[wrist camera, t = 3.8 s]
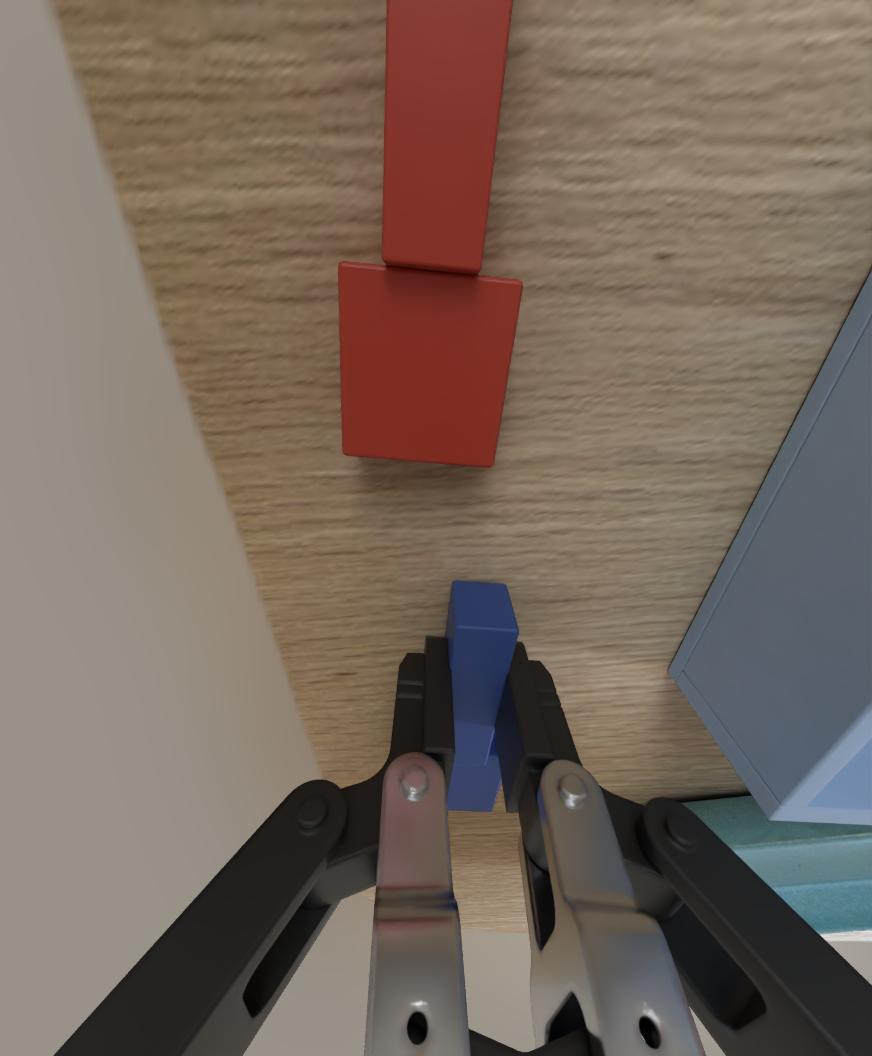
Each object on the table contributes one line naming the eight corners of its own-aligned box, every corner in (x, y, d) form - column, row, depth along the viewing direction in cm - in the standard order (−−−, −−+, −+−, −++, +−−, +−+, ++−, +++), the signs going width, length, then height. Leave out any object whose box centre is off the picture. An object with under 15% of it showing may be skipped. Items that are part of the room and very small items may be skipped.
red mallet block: (350, -212, 5) (308, -486, 4) (578, -176, 5) (648, -421, 4) (355, 437, 9) (336, 462, 8) (485, 448, 10) (496, 476, 8)
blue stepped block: (424, 577, 11) (422, 624, 9) (534, 585, 11) (552, 633, 9) (407, 764, 15) (404, 821, 13) (487, 768, 15) (494, 826, 14)
